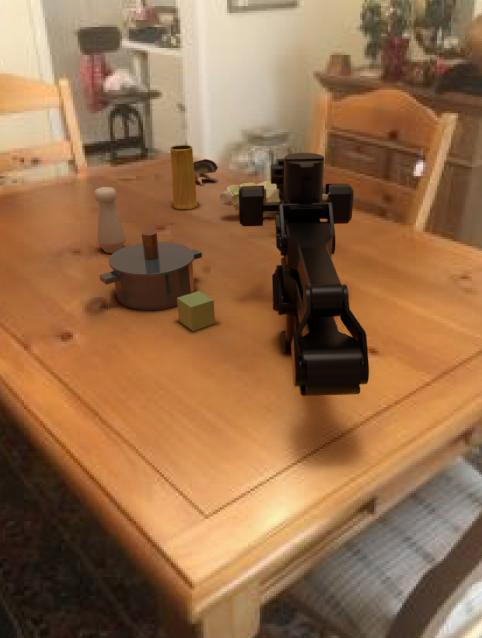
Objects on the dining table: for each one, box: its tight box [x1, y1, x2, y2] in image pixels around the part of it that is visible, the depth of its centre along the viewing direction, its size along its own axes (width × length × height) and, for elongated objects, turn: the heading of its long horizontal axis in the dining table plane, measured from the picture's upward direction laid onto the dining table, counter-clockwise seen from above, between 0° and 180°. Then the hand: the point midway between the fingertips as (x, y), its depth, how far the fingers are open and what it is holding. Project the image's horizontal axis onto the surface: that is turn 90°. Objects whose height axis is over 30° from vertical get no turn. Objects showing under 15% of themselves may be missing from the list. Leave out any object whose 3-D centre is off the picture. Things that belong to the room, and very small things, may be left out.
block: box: [177, 290, 216, 332], centre depth 103 cm, size 4×4×4 cm
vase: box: [169, 144, 199, 211], centre depth 152 cm, size 6×6×14 cm
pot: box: [99, 248, 203, 311], centre depth 112 cm, size 14×19×6 cm
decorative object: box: [219, 179, 281, 212], centre depth 147 cm, size 9×10×25 cm
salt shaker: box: [94, 186, 126, 254], centre depth 128 cm, size 6×6×13 cm
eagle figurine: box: [193, 158, 219, 186], centre depth 171 cm, size 8×7×9 cm
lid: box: [108, 229, 194, 277], centre depth 109 cm, size 15×15×6 cm
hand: (290, 190), depth 110 cm, fingers open, 9 cm apart
